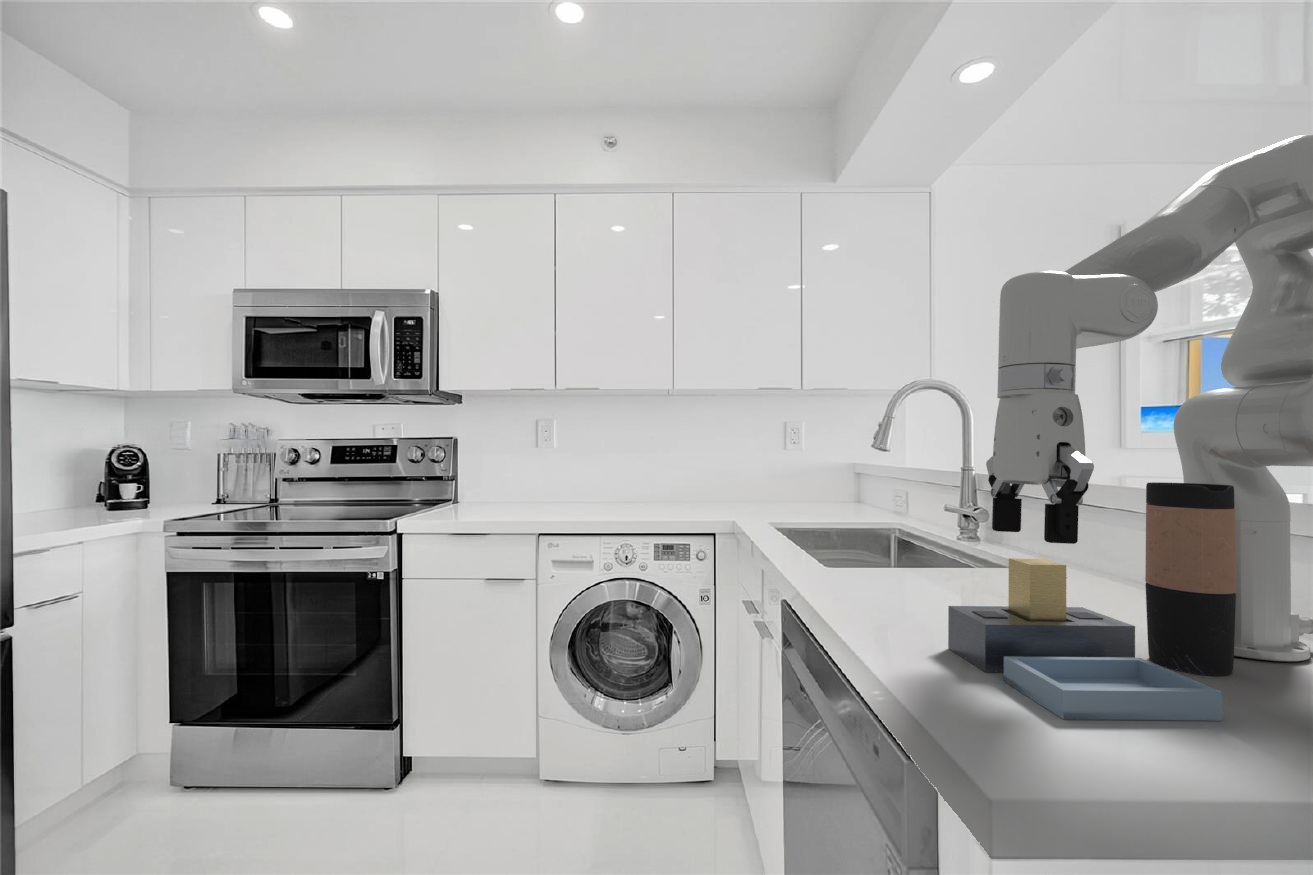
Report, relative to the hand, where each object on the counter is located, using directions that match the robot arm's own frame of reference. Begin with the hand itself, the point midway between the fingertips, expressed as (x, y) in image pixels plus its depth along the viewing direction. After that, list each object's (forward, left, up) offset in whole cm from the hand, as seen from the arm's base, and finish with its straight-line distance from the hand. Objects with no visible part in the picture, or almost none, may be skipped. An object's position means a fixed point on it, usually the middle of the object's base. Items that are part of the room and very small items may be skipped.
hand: (1031, 536), depth 70 cm
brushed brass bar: (-1, 0, -12) cm, 12 cm away
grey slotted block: (-1, 0, -14) cm, 14 cm away
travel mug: (-17, +1, -14) cm, 22 cm away
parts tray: (0, +11, -14) cm, 18 cm away
